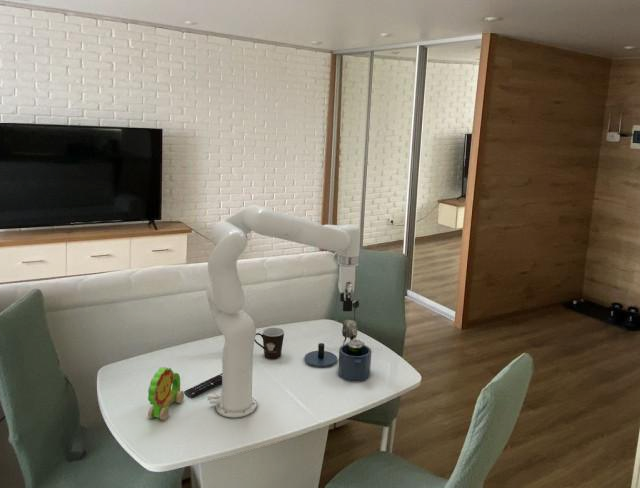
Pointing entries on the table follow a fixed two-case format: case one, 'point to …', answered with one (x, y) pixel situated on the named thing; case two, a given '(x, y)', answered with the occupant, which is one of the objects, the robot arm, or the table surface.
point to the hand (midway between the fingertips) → (345, 306)
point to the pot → (354, 364)
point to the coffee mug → (272, 342)
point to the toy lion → (164, 392)
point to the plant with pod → (350, 326)
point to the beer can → (355, 348)
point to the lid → (320, 357)
